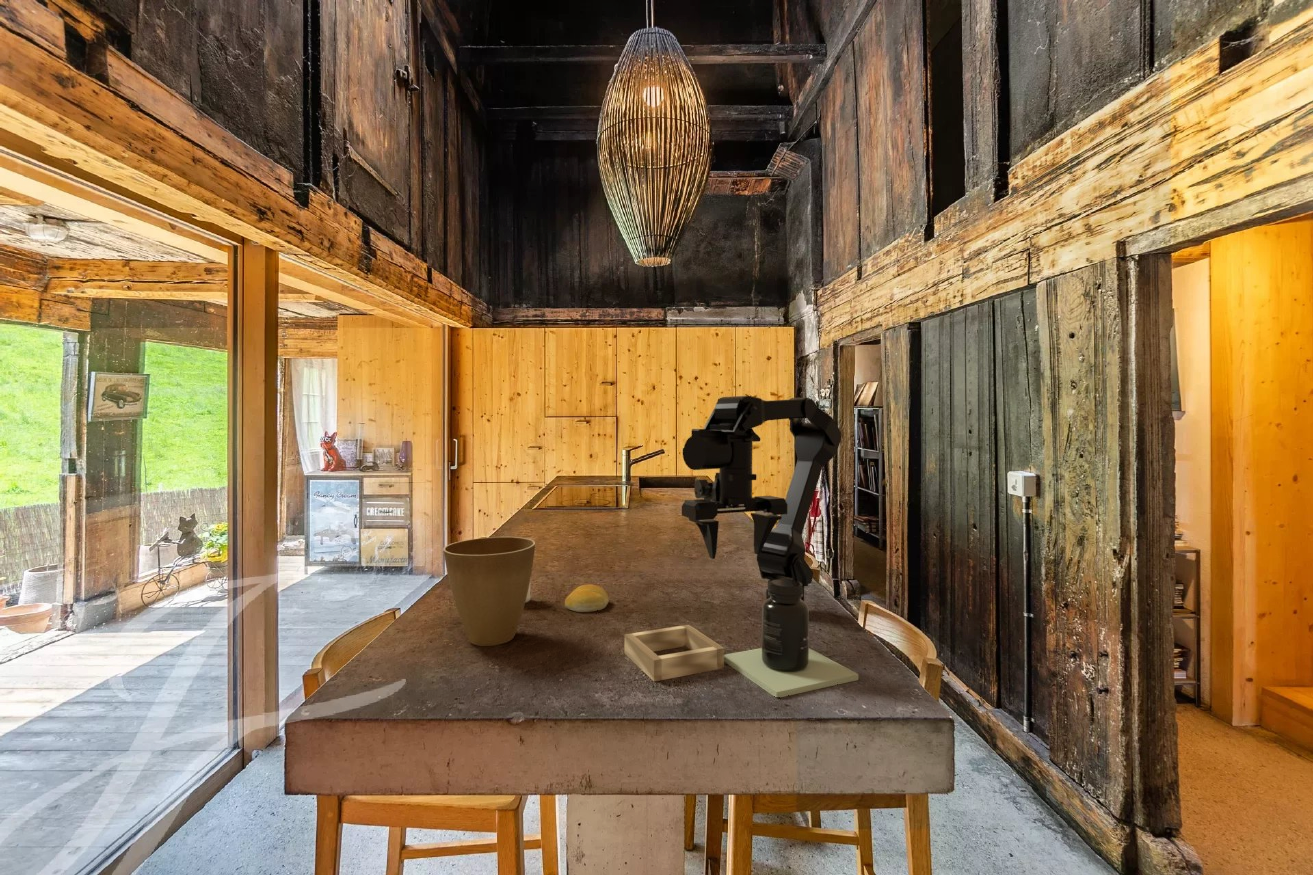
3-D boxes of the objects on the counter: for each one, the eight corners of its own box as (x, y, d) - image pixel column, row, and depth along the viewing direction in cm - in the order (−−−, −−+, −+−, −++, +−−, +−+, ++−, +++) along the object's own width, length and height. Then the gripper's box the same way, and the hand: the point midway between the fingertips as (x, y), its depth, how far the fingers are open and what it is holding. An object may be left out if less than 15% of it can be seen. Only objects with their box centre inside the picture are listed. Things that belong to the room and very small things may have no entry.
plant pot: (496, 618, 111) (496, 533, 111) (553, 635, 102) (553, 542, 102) (425, 642, 99) (424, 546, 99) (483, 663, 90) (482, 557, 90)
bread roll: (560, 612, 115) (560, 592, 115) (574, 599, 124) (574, 580, 124) (601, 615, 114) (601, 594, 114) (613, 601, 123) (613, 582, 123)
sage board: (796, 646, 97) (796, 641, 97) (858, 679, 84) (858, 674, 84) (722, 660, 91) (722, 654, 91) (776, 698, 79) (776, 692, 79)
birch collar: (688, 642, 99) (688, 624, 99) (724, 668, 88) (724, 647, 88) (624, 653, 94) (624, 634, 94) (653, 681, 84) (653, 660, 84)
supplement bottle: (816, 671, 85) (817, 588, 85) (770, 674, 84) (771, 589, 84) (798, 653, 92) (798, 576, 92) (755, 655, 91) (755, 577, 91)
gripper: (754, 463, 116) (753, 543, 116) (667, 466, 108) (667, 551, 108) (790, 467, 106) (789, 555, 106) (697, 470, 98) (696, 564, 98)
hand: (735, 556), depth 105 cm, fingers open, 9 cm apart
